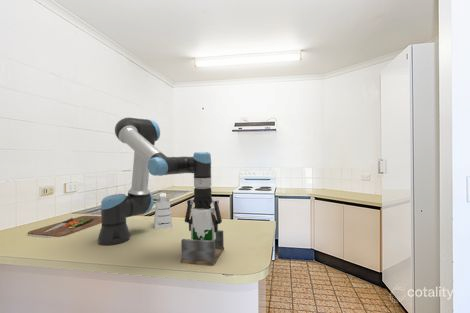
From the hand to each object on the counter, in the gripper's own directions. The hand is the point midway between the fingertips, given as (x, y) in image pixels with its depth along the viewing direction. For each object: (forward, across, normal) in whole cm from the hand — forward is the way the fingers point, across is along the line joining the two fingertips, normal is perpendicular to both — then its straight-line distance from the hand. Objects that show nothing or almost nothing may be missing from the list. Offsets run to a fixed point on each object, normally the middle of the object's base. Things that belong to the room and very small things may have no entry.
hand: (203, 238), depth 107 cm
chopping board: (+8, -98, +31) cm, 103 cm away
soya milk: (+5, 0, 0) cm, 5 cm away
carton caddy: (+7, 0, 0) cm, 7 cm away
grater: (+8, -40, +39) cm, 56 cm away
